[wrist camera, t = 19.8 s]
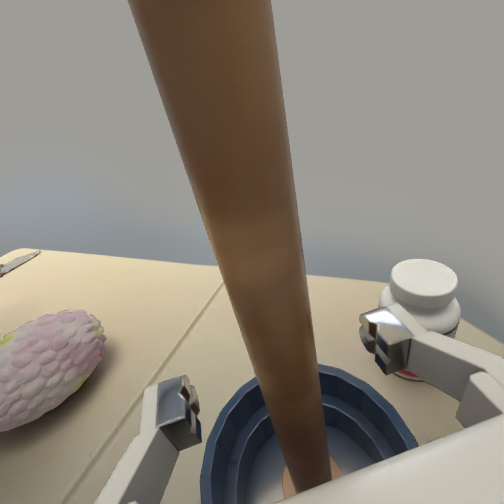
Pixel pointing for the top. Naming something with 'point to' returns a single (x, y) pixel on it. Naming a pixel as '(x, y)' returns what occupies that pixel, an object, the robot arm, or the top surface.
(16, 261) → the knife
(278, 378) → the muddler
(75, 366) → the decorative item
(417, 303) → the pill bottle
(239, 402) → the bowl
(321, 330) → the top surface
